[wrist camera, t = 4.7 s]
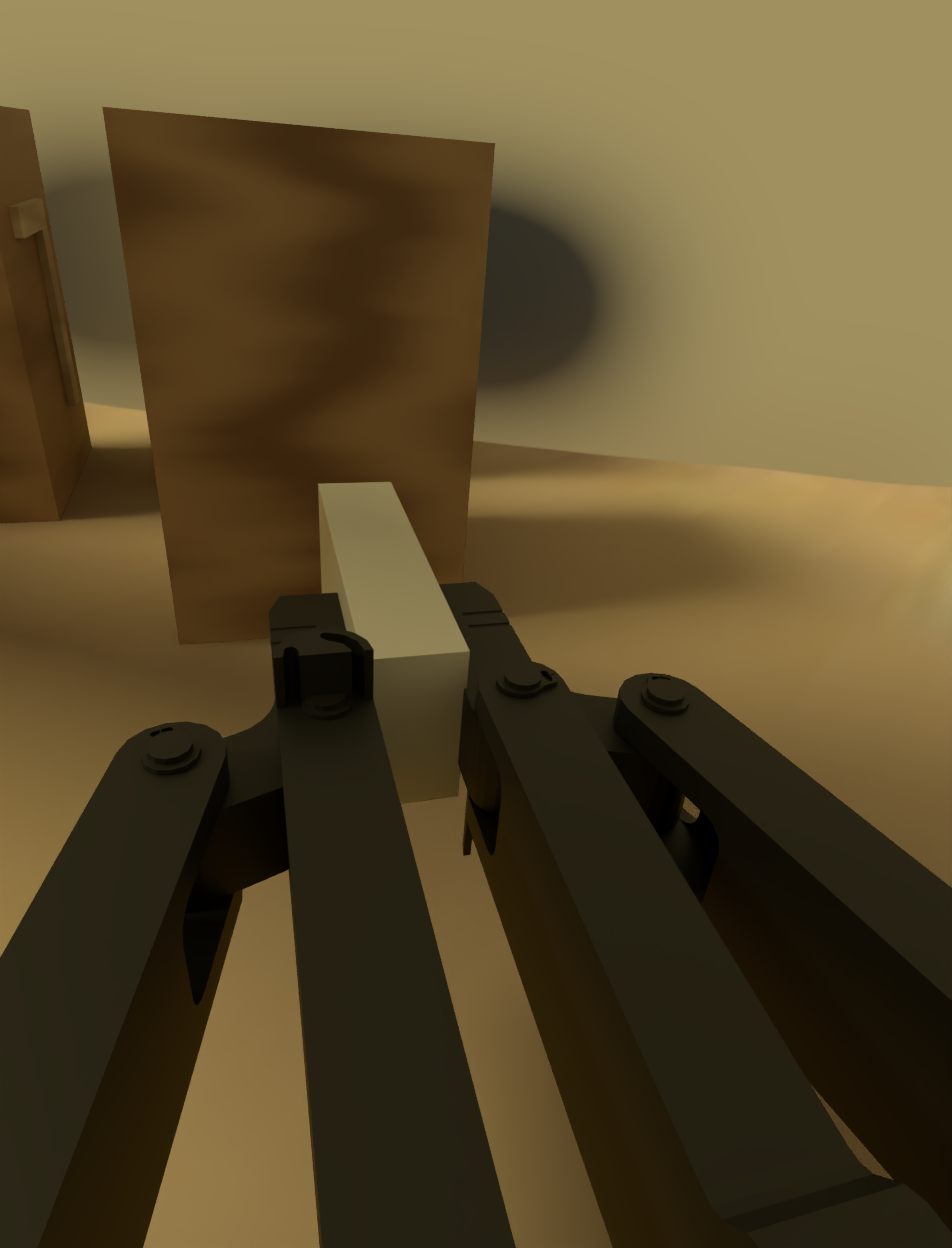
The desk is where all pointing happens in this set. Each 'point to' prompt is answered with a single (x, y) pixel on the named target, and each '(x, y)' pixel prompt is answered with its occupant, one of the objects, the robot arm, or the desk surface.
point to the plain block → (298, 341)
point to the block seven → (33, 345)
